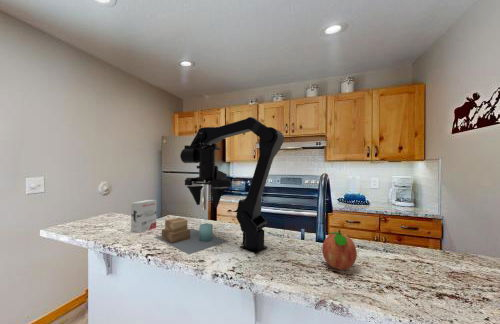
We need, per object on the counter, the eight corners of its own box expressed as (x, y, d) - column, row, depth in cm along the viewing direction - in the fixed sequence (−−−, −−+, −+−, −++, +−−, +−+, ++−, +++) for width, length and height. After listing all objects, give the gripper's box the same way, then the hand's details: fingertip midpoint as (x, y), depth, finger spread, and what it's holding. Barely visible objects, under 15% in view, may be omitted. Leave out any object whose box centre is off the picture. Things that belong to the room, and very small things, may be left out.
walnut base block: (190, 238, 78) (190, 229, 78) (171, 243, 72) (172, 233, 72) (179, 234, 82) (179, 225, 82) (161, 238, 77) (161, 229, 77)
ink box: (147, 227, 92) (148, 199, 92) (156, 228, 90) (157, 199, 91) (129, 232, 84) (130, 201, 84) (139, 234, 82) (140, 203, 83)
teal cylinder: (215, 239, 77) (215, 225, 78) (204, 242, 74) (205, 227, 74) (207, 236, 80) (207, 222, 81) (196, 239, 77) (196, 225, 77)
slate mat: (228, 242, 76) (228, 241, 76) (188, 255, 64) (189, 254, 64) (192, 229, 90) (192, 228, 90) (154, 238, 78) (154, 237, 78)
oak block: (187, 229, 77) (187, 220, 78) (173, 232, 73) (173, 222, 73) (178, 226, 81) (179, 217, 81) (164, 229, 77) (165, 219, 77)
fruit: (353, 262, 62) (353, 227, 62) (360, 278, 53) (360, 237, 53) (321, 258, 64) (322, 224, 65) (322, 272, 55) (323, 233, 56)
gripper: (240, 163, 80) (240, 205, 80) (206, 163, 91) (206, 201, 91) (219, 162, 71) (219, 210, 71) (184, 163, 83) (183, 204, 82)
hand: (206, 206), depth 79 cm, fingers open, 9 cm apart
